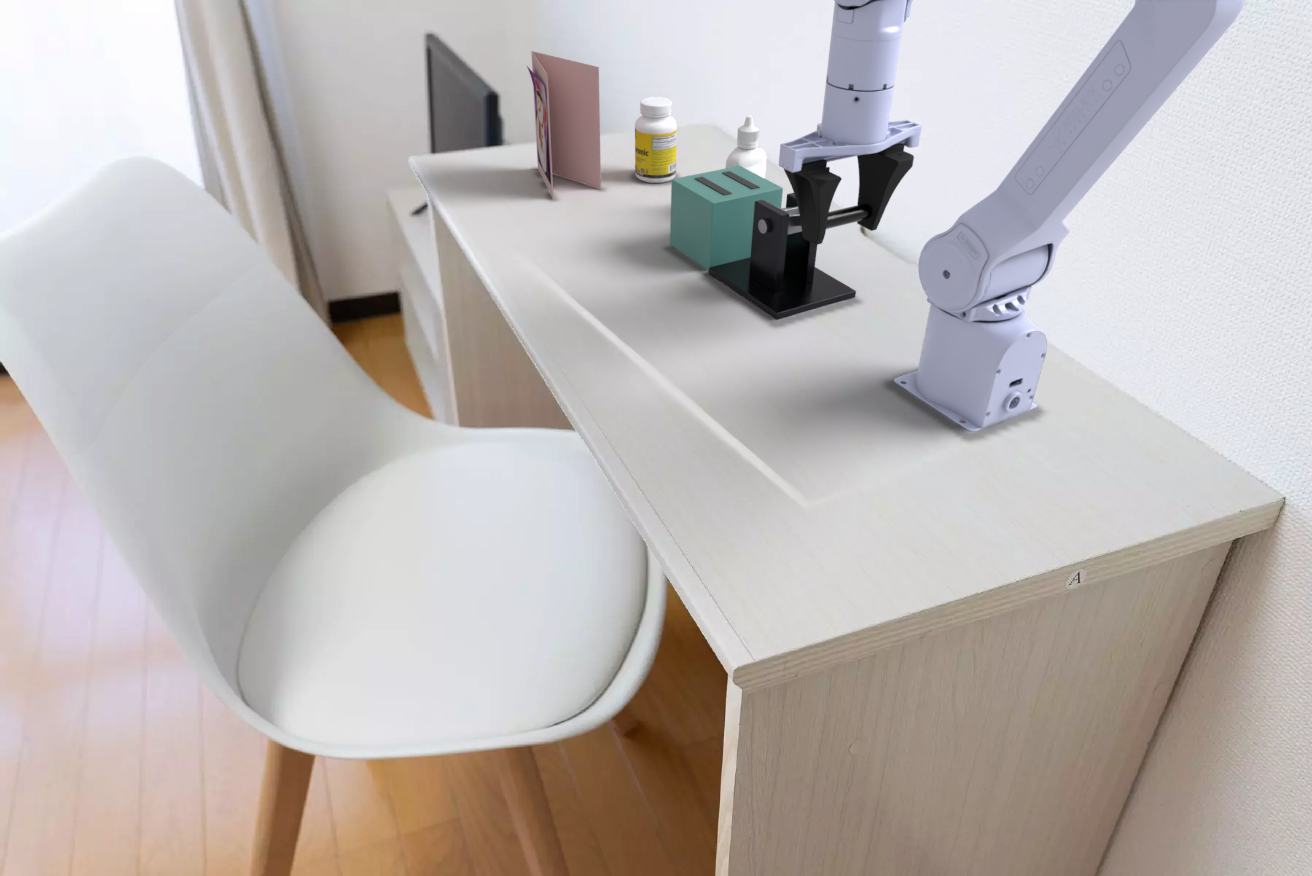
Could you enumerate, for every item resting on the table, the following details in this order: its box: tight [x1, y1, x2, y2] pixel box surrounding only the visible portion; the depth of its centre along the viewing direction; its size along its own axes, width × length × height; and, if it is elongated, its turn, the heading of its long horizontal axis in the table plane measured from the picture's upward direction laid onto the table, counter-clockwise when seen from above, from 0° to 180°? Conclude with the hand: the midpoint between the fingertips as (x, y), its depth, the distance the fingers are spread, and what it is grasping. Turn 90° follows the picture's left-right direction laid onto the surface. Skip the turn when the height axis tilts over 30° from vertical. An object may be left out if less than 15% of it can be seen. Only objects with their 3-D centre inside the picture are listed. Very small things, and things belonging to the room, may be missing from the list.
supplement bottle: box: [634, 96, 678, 184], centre depth 125 cm, size 5×5×10 cm
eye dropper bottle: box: [725, 115, 767, 179], centre depth 113 cm, size 4×6×12 cm
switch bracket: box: [707, 192, 857, 321], centre depth 98 cm, size 12×10×9 cm
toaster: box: [669, 166, 784, 271], centre depth 105 cm, size 8×9×8 cm
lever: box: [781, 203, 872, 235], centre depth 93 cm, size 11×6×2 cm, turn 31°
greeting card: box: [526, 50, 602, 199], centre depth 121 cm, size 11×7×15 cm, turn 15°
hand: (840, 233), depth 90 cm, fingers closed on lever, 6 cm apart
